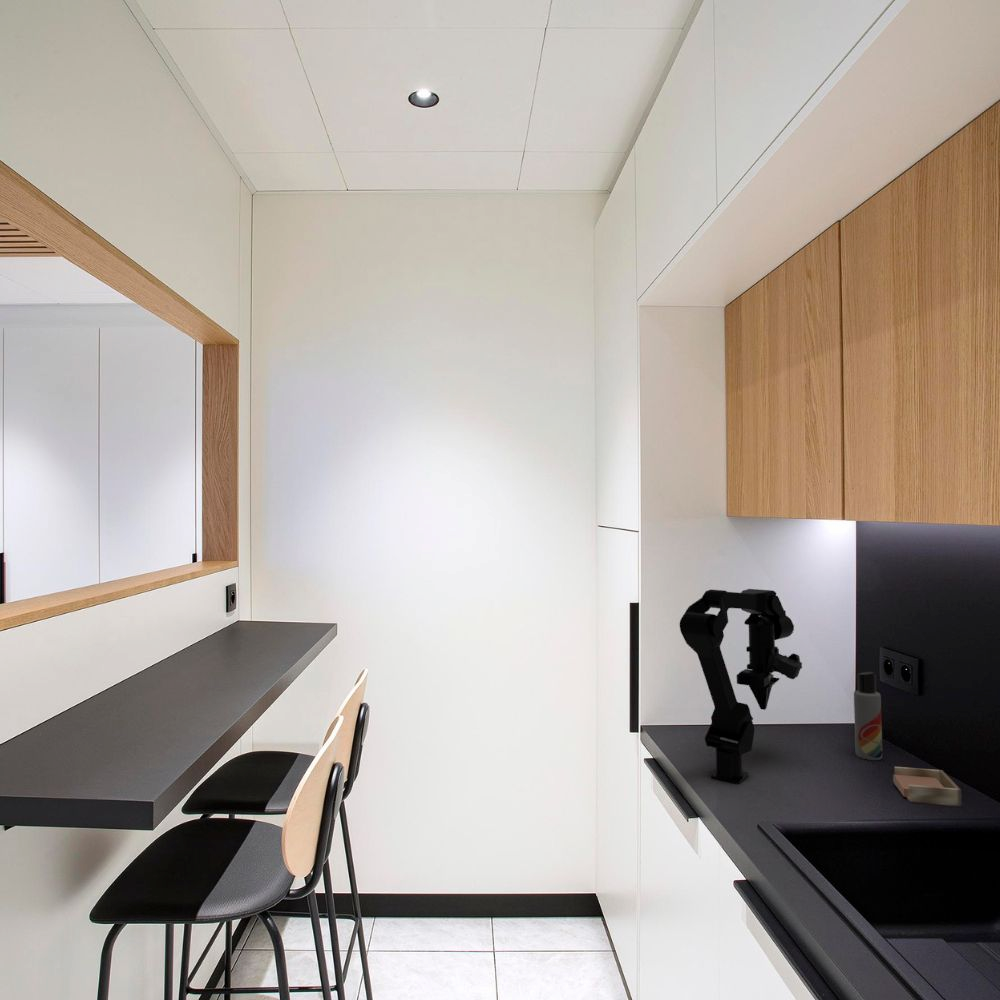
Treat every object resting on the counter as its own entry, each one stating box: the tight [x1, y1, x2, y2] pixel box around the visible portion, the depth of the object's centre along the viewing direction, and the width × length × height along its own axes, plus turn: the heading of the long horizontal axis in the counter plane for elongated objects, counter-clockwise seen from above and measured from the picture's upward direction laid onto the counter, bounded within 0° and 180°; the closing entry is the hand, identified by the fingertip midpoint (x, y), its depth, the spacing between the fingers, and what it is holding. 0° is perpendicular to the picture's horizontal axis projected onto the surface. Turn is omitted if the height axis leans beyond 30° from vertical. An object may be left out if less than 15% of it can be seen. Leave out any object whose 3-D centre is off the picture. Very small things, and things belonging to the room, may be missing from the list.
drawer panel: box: [892, 774, 943, 798], centre depth 143 cm, size 2×8×8 cm
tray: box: [894, 766, 963, 807], centre depth 143 cm, size 9×11×3 cm
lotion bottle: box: [853, 671, 883, 761], centre depth 165 cm, size 6×6×20 cm
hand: (763, 709), depth 163 cm, fingers closed
